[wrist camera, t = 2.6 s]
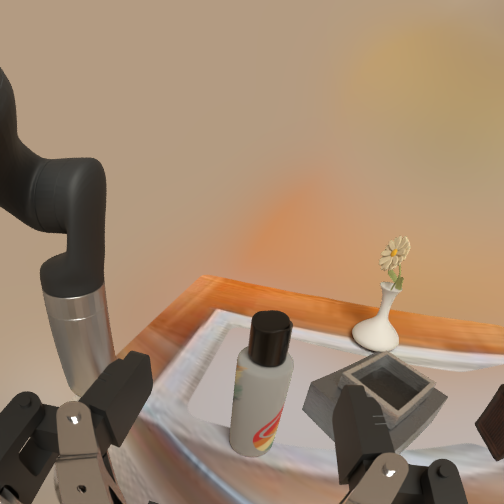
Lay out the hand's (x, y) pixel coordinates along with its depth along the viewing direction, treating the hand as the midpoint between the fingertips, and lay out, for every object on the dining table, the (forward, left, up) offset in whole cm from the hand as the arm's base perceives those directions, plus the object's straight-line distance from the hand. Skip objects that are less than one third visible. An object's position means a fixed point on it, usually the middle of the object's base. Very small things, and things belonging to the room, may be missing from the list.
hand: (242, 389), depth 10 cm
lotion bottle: (-11, +9, -25) cm, 28 cm away
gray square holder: (-5, +27, -24) cm, 37 cm away
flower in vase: (-20, +45, -25) cm, 55 cm away
